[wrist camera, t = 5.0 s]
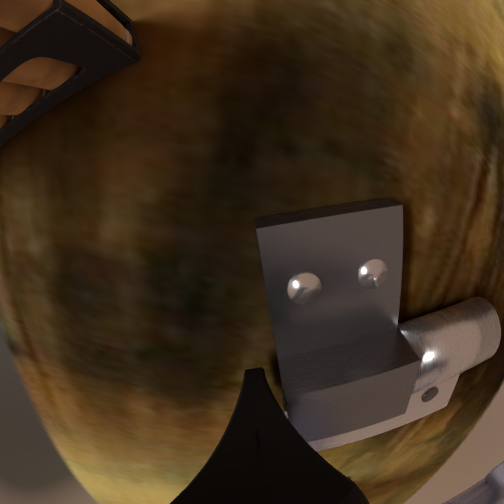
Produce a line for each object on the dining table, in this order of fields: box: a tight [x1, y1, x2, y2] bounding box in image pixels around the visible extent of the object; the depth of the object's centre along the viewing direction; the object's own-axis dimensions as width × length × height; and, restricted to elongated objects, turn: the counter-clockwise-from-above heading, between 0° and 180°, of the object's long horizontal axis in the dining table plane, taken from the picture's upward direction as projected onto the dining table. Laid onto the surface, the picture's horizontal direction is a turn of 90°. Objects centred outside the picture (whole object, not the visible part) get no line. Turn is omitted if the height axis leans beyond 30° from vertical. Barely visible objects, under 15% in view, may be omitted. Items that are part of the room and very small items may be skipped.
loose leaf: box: [254, 198, 420, 442], centre depth 10 cm, size 8×5×3 cm, turn 10°
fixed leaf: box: [281, 297, 501, 451], centre depth 11 cm, size 8×10×3 cm
